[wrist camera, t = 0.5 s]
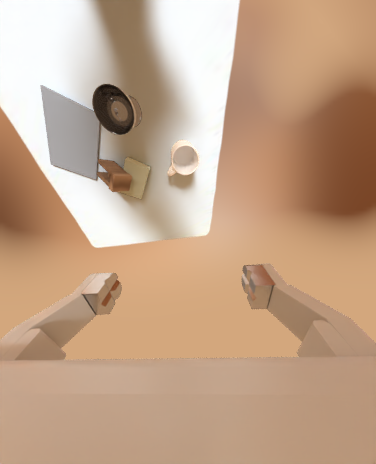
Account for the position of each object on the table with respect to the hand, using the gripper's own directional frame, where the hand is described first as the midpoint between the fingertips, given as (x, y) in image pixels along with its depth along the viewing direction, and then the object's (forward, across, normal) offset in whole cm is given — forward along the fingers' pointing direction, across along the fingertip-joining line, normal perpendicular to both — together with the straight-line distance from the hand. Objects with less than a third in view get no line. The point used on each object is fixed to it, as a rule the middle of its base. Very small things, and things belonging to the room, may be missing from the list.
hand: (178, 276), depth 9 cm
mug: (+50, +3, -8) cm, 50 cm away
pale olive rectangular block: (+48, +20, -3) cm, 53 cm away
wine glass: (+44, +16, -21) cm, 52 cm away
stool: (+47, +25, -6) cm, 54 cm away
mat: (+43, +34, -16) cm, 58 cm away
